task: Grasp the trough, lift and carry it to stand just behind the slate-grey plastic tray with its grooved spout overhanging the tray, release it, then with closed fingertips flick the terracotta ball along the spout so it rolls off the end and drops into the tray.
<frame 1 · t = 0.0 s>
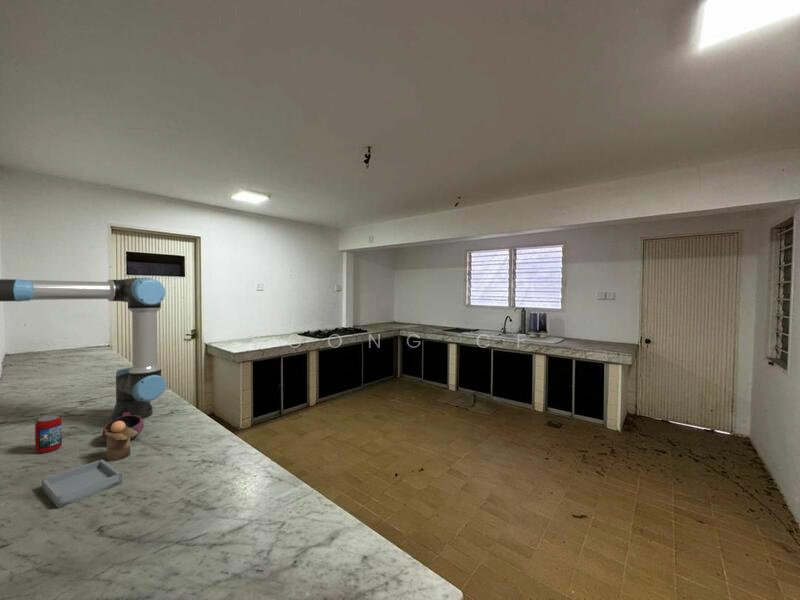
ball: (118, 426, 118), point 11 cm above the countertop, touching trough
bowl: (121, 439, 132), on the countertop
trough: (118, 456, 118), on the countertop, touching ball
beverage can: (49, 450, 122), on the countertop
tray: (82, 486, 100), on the countertop
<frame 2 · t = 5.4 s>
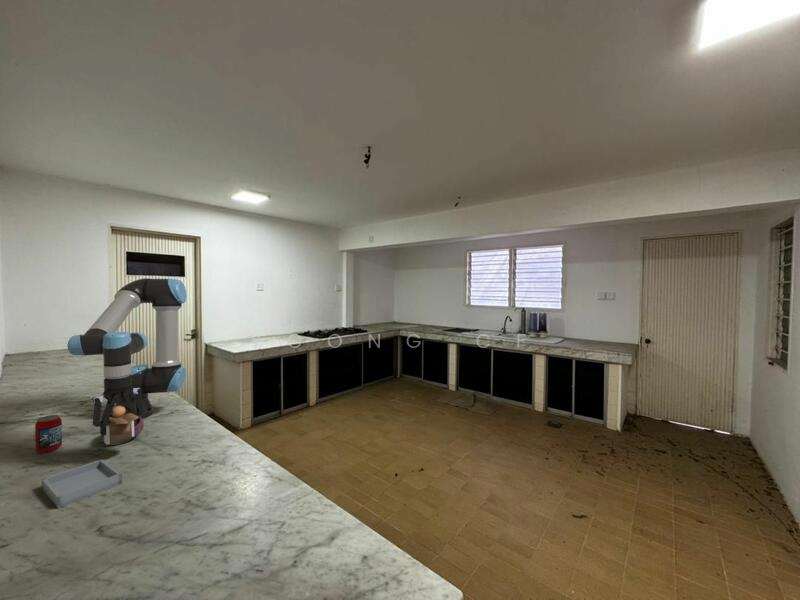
hand: (119, 439, 119), 6 cm above the countertop, fingers closed on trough, 6 cm apart
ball: (118, 411, 118), point 16 cm above the countertop, tilted 6°, touching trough
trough: (119, 440, 119), point 5 cm above the countertop, touching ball, gripper
everything else where it was.
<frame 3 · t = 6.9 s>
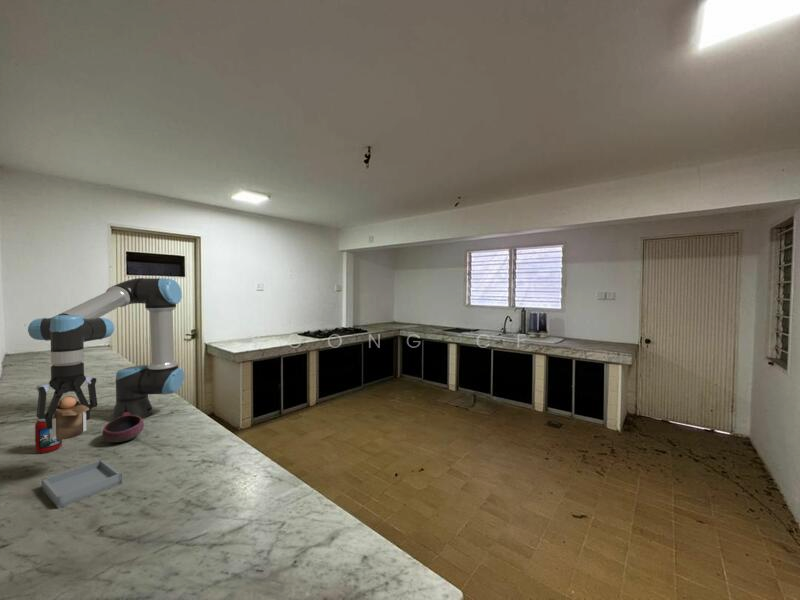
hand: (68, 433, 107), 13 cm above the countertop, fingers closed on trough, 6 cm apart
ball: (67, 402, 107), point 23 cm above the countertop, tilted 7°, touching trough
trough: (68, 435, 107), point 12 cm above the countertop, touching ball, gripper
everything else where it was.
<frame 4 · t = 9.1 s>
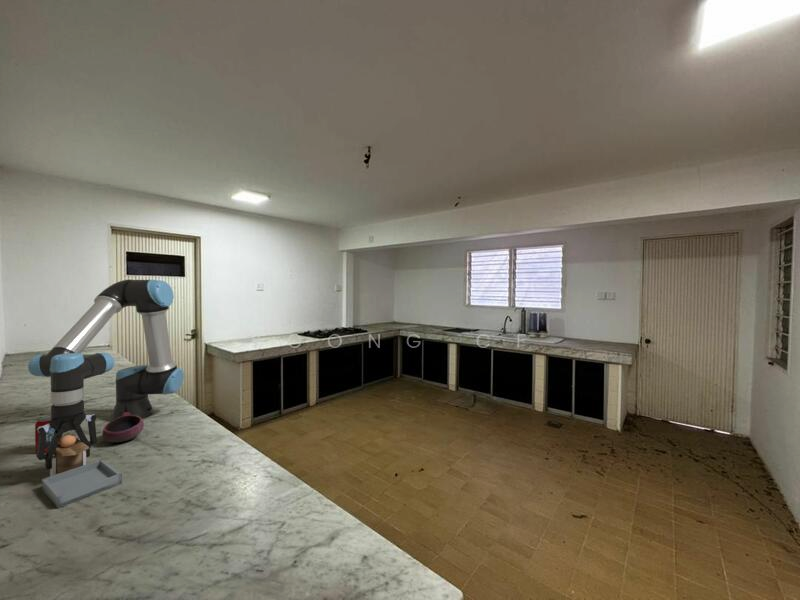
hand: (68, 472, 107), 0 cm above the countertop, fingers closed on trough, 6 cm apart
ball: (67, 440, 107), point 11 cm above the countertop, tilted 7°, touching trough
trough: (68, 473, 107), on the countertop, touching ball, gripper
everything else where it was.
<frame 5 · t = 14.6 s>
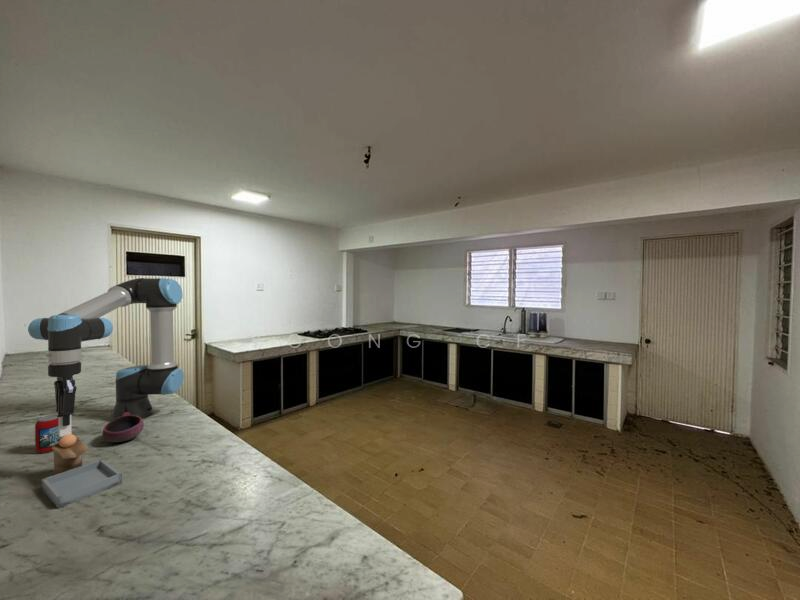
hand: (65, 434, 107), 12 cm above the countertop, fingers closed
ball: (67, 440, 106), point 11 cm above the countertop, touching gripper, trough
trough: (68, 472, 107), on the countertop, tilted 6°, touching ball
everything else where it was.
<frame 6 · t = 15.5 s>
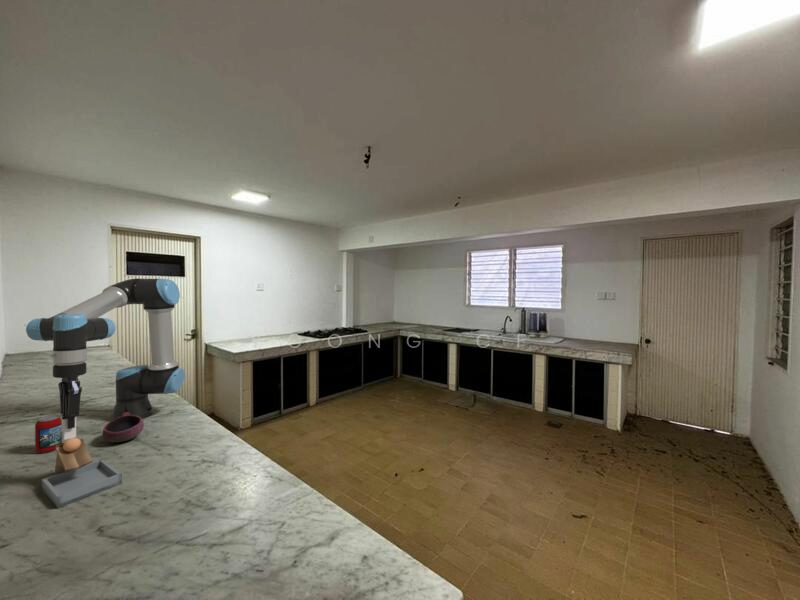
hand: (69, 437, 104), 13 cm above the countertop, fingers closed
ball: (72, 444, 104), point 11 cm above the countertop, tilted 23°, touching gripper, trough
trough: (68, 469, 107), point 2 cm above the countertop, tilted 30°, touching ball, tray
everything else where it was.
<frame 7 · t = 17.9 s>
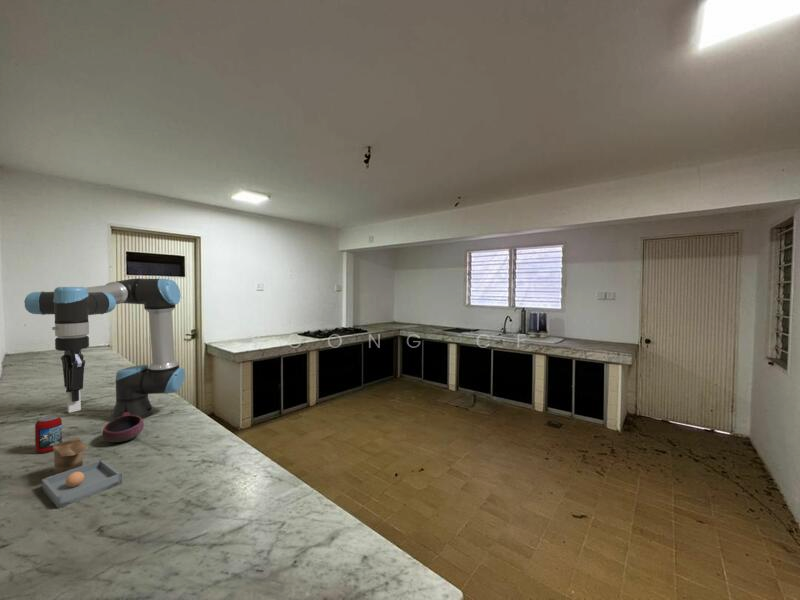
hand: (74, 410, 104), 22 cm above the countertop, fingers closed
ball: (75, 479, 99), point 3 cm above the countertop, tilted 51°, touching tray
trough: (69, 473, 107), on the countertop
everything else where it was.
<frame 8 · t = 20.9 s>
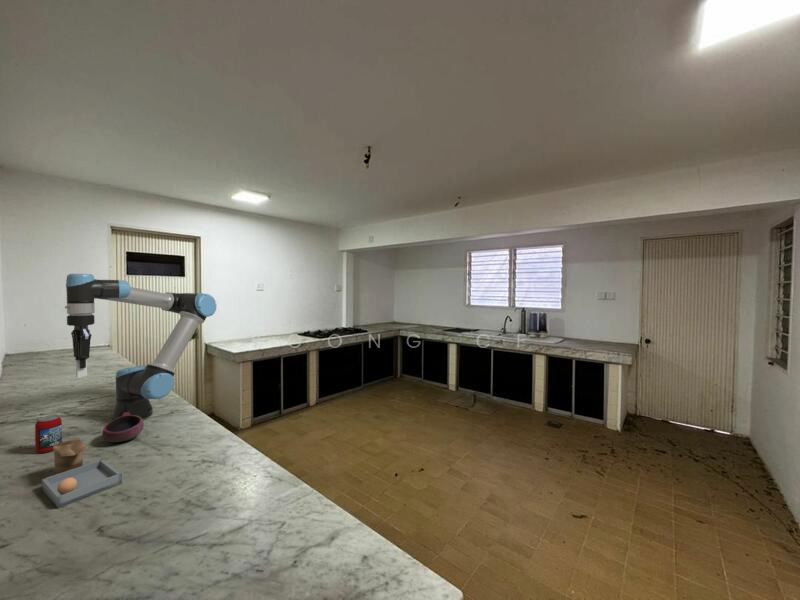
hand: (81, 376, 126), 26 cm above the countertop, fingers closed
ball: (67, 485, 96), point 3 cm above the countertop, tilted 120°, touching tray
everything else where it was.
at the end: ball inside the target area on the tray (4.5 cm from its centre), point 3.0 cm above the tray's base; the gripper is holding nothing; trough tilted 0° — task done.
